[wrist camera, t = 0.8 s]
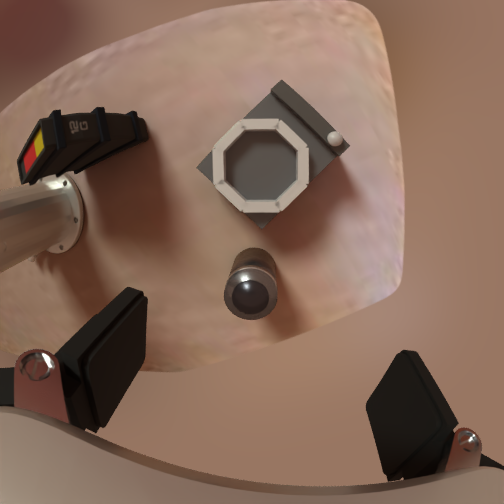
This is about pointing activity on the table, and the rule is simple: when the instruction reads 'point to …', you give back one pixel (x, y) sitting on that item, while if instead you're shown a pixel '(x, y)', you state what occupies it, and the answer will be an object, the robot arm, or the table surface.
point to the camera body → (272, 154)
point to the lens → (251, 285)
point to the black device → (77, 142)
